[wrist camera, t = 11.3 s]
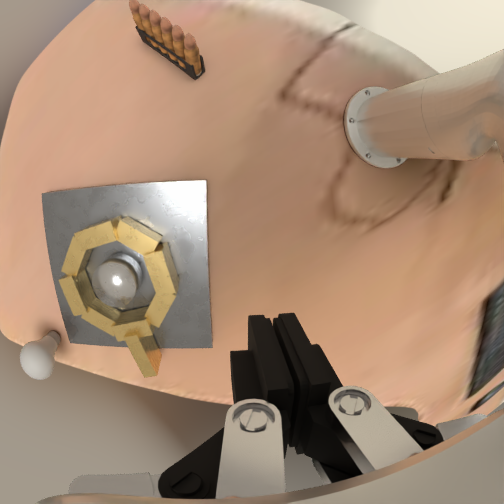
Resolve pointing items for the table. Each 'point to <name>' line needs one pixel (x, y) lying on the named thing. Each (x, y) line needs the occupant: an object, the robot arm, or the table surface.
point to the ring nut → (106, 317)
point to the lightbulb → (40, 356)
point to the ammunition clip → (168, 39)
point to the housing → (136, 256)
